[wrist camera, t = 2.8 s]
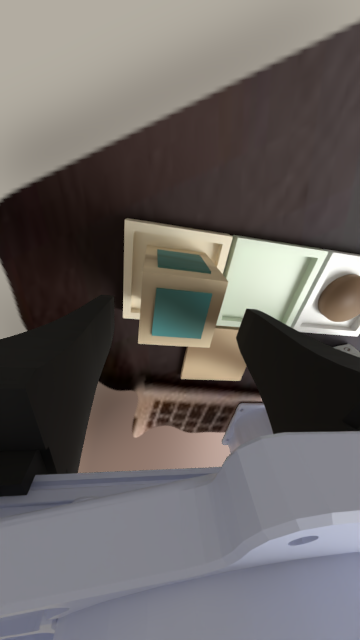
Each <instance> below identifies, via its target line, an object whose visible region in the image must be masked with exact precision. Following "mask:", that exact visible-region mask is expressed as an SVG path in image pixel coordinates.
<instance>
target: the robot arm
mask: <svg viewBox="0 0 360 640" xmlns="http://www.w3.org/2000/svg"><path fill="white" fill-rule="evenodd" d="M113 334H114V296H108V295H100V296H98V297H97V298H95V299H93V300H92V301H90V302H89V303H87V304H85V305H84V306H82V307H80V308H79V309H77V310H75V311H73V312H71V313H70V314H68V315H66V316H64V317H62V318H60V319H58V320H56V321H53V322H51V323H49V324H46V325H44V326H41V327H39V328H36V329H33V330H30V331H27V332H24V333H21V334H18V335H14V336H11V337H7V338H4V339H0V640H360V357H357V356H354V355H352V354H349V353H346V352H343V351H341V350H338V349H335V348H333V347H331V346H328V345H326V344H324V343H321V342H319V341H317V340H315V339H313V338H310V337H308V336H306V335H305V334H303V333H301V332H299V331H297V330H295V329H293V328H291V327H289V326H288V325H286V324H284V323H282V322H280V321H279V320H277V319H275V318H273V317H272V316H270V315H268V314H266V313H264V312H262V311H259V310H257V309H247V308H246V311H245V314H244V317H243V319H242V322H241V325H240V328H239V330H238V333H237V336H236V340H237V344H238V347H239V350H240V353H241V355H242V357H243V359H244V361H245V363H246V365H247V367H248V369H249V371H250V373H251V375H252V377H253V379H254V381H255V383H256V386H257V388H258V390H259V392H260V395H261V398H262V401H263V403H241V404H239V405H238V407H237V409H236V411H235V414H234V416H233V418H232V420H231V422H230V424H229V426H228V429H227V431H226V433H225V435H224V437H223V439H222V444H223V445H228V446H229V449H230V452H231V454H230V455H229V456H228V457H227V458H226V460H225V461H224V463H223V465H222V467H209V468H187V469H166V470H164V469H163V470H140V471H117V472H94V473H78V468H79V463H80V458H81V452H82V448H83V444H84V439H85V434H86V429H87V425H88V420H89V416H90V411H91V407H92V403H93V399H94V395H95V390H96V387H97V384H98V380H99V378H100V375H101V372H102V369H103V367H104V364H105V361H106V358H107V356H108V353H109V350H110V347H111V343H112V339H113Z"/></svg>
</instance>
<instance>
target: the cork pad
mask: <svg viewBox="0 0 360 640" xmlns="http://www.w3.org/2000/svg"><path fill="white" fill-rule="evenodd" d="M239 328H240V327H231V326H218V325H216V327H215V330H214V334H213V337H212V341H211V344H210V348H203V347H186V352H185V356H184V361H183V366H182V370H181V379H200V380H231V381H240V380H241V377H242V375H243V373H244V370H245V368H246V366H247V365H246V363H245V361H244V359H243V357H242V355H241V353H240V350H239V347H238V344H237V340H236V336H237V333H238V330H239Z"/></svg>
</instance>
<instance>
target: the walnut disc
mask: <svg viewBox="0 0 360 640" xmlns="http://www.w3.org/2000/svg"><path fill="white" fill-rule="evenodd" d="M318 310H319V312H320V313H321V314H322V315H324V316H325V317H326V318H328V319H329V320H331V321H333V322H343V321H347V320H350V319H352V318H354V317H356V316H357V315H359V314H360V276H359V275H355V274H348V275H344V276H341V277H339V278H337V279H335V280H334V281H332V282H331V283H330V284H329V285H328V286H327V287H326V288H325V289H324V290H323V292H322V293H321V295H320V297H319V300H318Z"/></svg>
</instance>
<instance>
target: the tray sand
mask: <svg viewBox="0 0 360 640" xmlns="http://www.w3.org/2000/svg"><path fill="white" fill-rule="evenodd" d="M232 238H233V237H232V236H231V235H229V234H226V233H219V232H213V231H207V230H200V229H194V228H188V227H181V226H175V225H169V224H162V223H156V222H149V221H143V220H137V219H130V218H126V219H125V226H124V285H123V318H129V319H140V307H141V291H142V276H143V267H144V261H145V254H146V248H147V245H150V246H157V247H164V248H172V249H179V250H186V251H193V252H201V253H206V254H207V256H208V257H209V258H210V259H211V261H212V262H213V263H214V264H215V266H216V267H217V268H218V269H219V270H220V272H221V273H222V274H223V272H224V268H225V264H226V260H227V257H228V253H229V249H230V246H231V242H232Z"/></svg>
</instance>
